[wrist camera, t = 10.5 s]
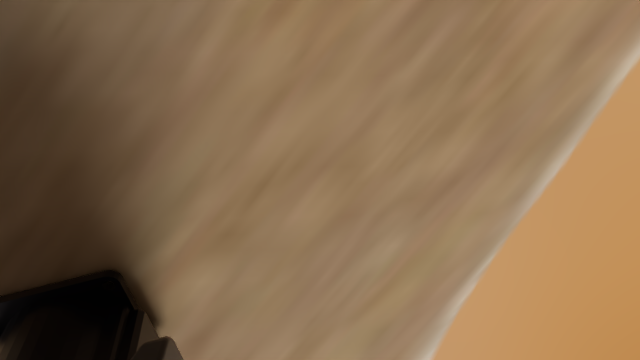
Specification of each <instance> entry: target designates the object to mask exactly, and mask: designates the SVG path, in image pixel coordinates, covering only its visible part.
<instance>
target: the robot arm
mask: <svg viewBox="0 0 640 360" xmlns="http://www.w3.org/2000/svg"><path fill="white" fill-rule="evenodd" d="M106 281H110V282H113V283H114V284H107V283H106ZM0 360H183V358H182V356H181V354H180V352H179V350H178V348H177V346H176V344H175V342H174V340H173V339H172V338H171V337H167V336H166V337H161V338H159V337H158V335H157V333H156V331H155V329H154V327H153V325H152V323H151V321H150V320H149V318H148V316H147V314H146V312H145V311H143V310H142V309H139V308H138V306H137V304H136V302H135V300H134V298H133V296H132V294H131V292H130V291H129V289H128V287H127V285H126V283H125V281H124V279H123V277H122V276H121V275H120V273H118V272H116V271H112V270H107V271H102V272H98V273H94V274H90V275H86V276H82V277H78V278H74V279H71V280H67V281H63V282H59V283H55V284H51V285H47V286H43V287H39V288H35V289H31V290H27V291H23V292H19V293H15V294H11V295H7V296H3V297H0Z"/></svg>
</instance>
